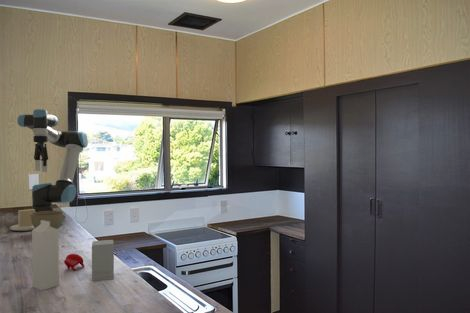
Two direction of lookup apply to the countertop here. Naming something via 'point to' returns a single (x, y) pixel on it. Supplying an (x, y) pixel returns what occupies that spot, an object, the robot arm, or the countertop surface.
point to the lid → (24, 221)
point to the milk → (45, 256)
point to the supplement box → (102, 260)
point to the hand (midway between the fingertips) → (41, 171)
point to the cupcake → (62, 217)
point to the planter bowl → (47, 218)
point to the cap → (73, 261)
